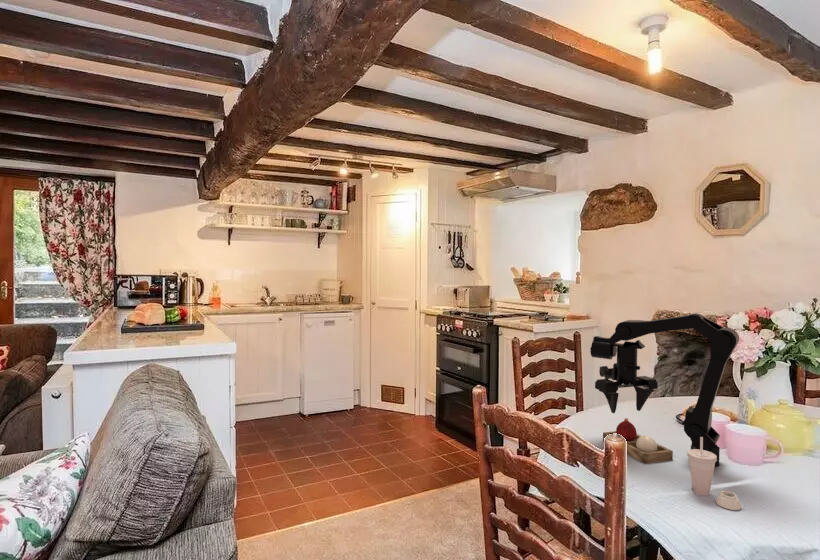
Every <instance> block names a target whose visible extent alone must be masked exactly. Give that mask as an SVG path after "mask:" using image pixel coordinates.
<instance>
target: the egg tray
mask: <svg viewBox="0 0 820 560" xmlns="http://www.w3.org/2000/svg"><path fill="white" fill-rule="evenodd" d="M613 433H616V430H615V431H605V432H602V441H603V442H605V441H604V438H605V437H606V436H607V435H609V434H613ZM641 436H642V435H641V434H639V433H637V435H636V438H635V439H634V440H633V441H629V442H627V454H626V455H628V456H630V457H632V458H634V459H636V460H637V461H639V462H641V463H642V464H652V463H659V462H665V461H666V462H667V461H673V457H674V456H673V455H674V451H673V450H672V449H670V448H667V447H665V446H663V445H661V444H659V443H657V451H656V452H648V453H645V452H643V451H641V450H639V449H637V447H636V441H637V439H638V438H639V437H641Z"/></svg>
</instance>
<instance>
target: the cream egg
mask: <svg viewBox="0 0 820 560" xmlns="http://www.w3.org/2000/svg"><path fill="white" fill-rule="evenodd" d="M657 444H658V443H657V441H656V439H654V438H653V437H652V436H649V435H641V437H639V438H638V439H637V441H636V447H637V449H639V450H641V451H643V452H645V453H648V452H656V451H657Z"/></svg>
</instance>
